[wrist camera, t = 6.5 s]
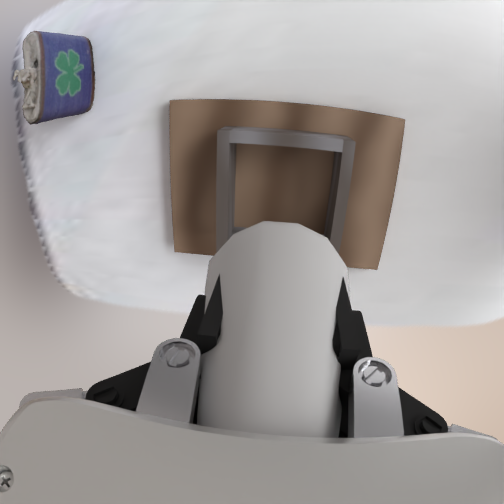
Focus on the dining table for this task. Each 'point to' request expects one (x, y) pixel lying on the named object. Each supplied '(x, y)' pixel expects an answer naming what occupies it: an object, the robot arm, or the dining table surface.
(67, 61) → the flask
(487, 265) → the dining table surface
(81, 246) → the dining table surface
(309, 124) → the holder board
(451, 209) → the dining table surface
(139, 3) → the dining table surface
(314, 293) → the salt shaker
